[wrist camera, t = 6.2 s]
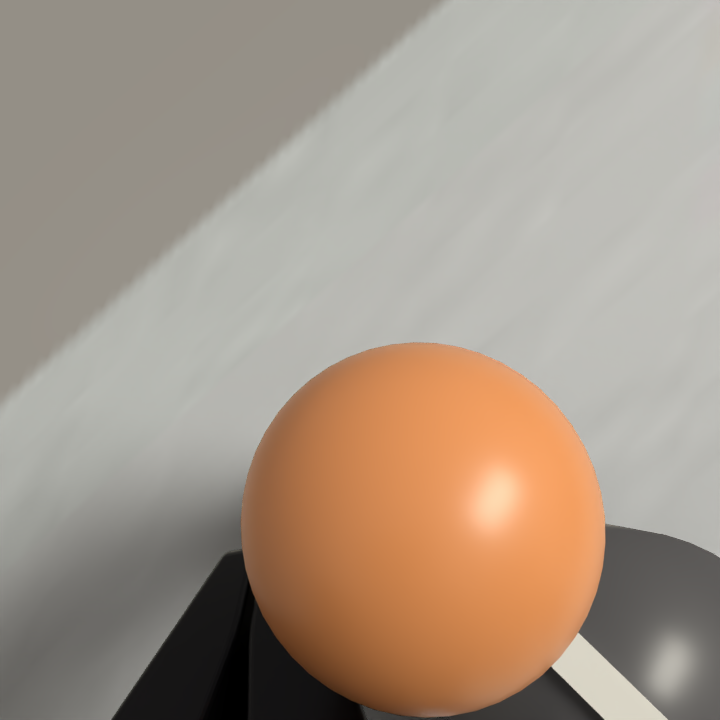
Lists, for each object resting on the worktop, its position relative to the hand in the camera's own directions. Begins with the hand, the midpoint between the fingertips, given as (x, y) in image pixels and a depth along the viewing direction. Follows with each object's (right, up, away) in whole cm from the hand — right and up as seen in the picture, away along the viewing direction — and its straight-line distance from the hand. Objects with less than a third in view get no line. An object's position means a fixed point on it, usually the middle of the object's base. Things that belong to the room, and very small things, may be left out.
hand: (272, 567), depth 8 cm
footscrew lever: (+5, -3, +5) cm, 8 cm away
